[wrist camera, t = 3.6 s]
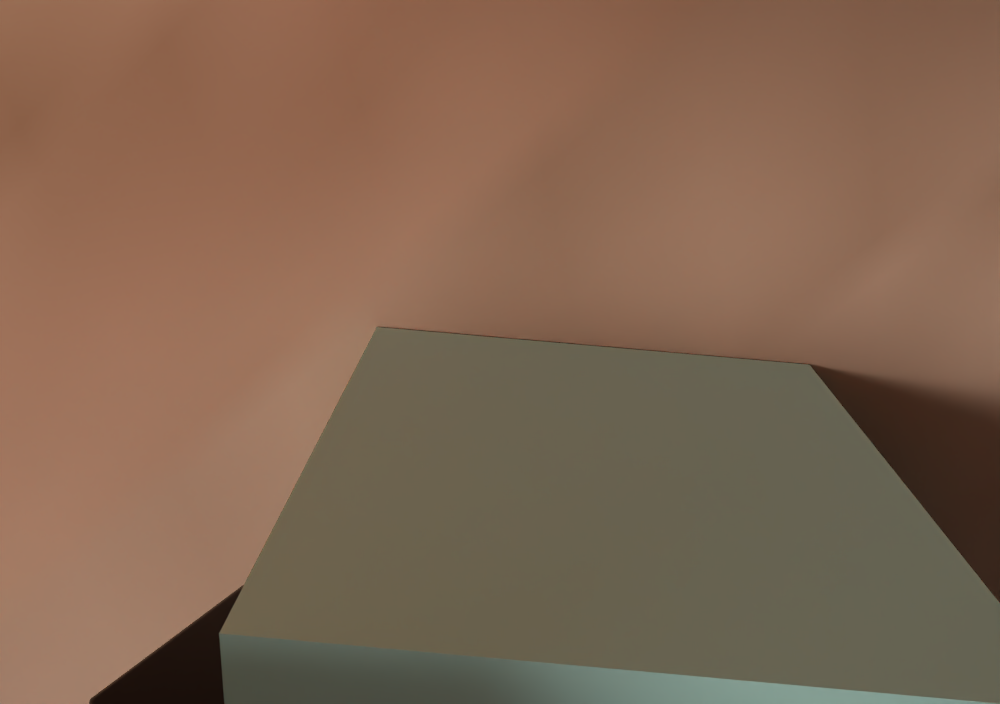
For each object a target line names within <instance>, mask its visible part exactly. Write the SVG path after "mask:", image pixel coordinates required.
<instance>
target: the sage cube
mask: <svg viewBox="0 0 1000 704" xmlns="http://www.w3.org/2000/svg"><path fill="white" fill-rule="evenodd" d="M219 639H220V652H221V666H222V679H223V693H224V704H1000V603H999V602H998V600H997V599H996V598H995V597H994V595H993V594H992V593H991V592H990V590H989V589H988V588H987V587H986V585H985V584H984V583H983V582H982V580H981V579H980V578H979V577H978V575H977V574H976V573H975V572H974V570H973V569H972V568H971V567H970V565H969V564H968V563H967V561H966V560H965V559H964V558H963V556H962V555H961V554H960V553H959V551H958V550H957V549H956V548H955V546H954V545H953V544H952V543H951V541H950V540H949V539H948V538H947V536H946V535H945V534H944V533H943V531H942V530H941V529H940V528H939V526H938V525H937V524H936V523H935V521H934V520H933V519H932V518H931V516H930V515H929V514H928V513H927V511H926V510H925V509H924V508H923V506H922V505H921V504H920V503H919V501H918V500H917V499H916V498H915V496H914V495H913V494H912V493H911V491H910V490H909V489H908V488H907V486H906V485H905V484H904V483H903V481H902V480H901V479H900V478H899V476H898V475H897V474H896V472H895V471H894V470H893V469H892V467H891V466H890V465H889V464H888V462H887V461H886V460H885V459H884V457H883V456H882V455H881V454H880V452H879V451H878V450H877V449H876V447H875V446H874V445H873V444H872V442H871V441H870V440H869V439H868V437H867V436H866V435H865V434H864V432H863V431H862V430H861V429H860V427H859V426H858V425H857V424H856V422H855V421H854V420H853V419H852V417H851V416H850V415H849V414H848V412H847V411H846V410H845V409H844V407H843V406H842V405H841V404H840V402H839V401H838V400H837V399H836V397H835V396H834V395H833V394H832V392H831V391H830V390H829V389H828V387H827V386H826V385H825V384H824V382H823V381H822V380H821V378H820V377H819V376H818V375H817V373H816V372H815V371H814V370H813V368H812V367H811V366H810V365H808V364H797V363H785V362H774V361H762V360H751V359H739V358H728V357H716V356H705V355H693V354H682V353H670V352H659V351H647V350H636V349H624V348H613V347H601V346H590V345H578V344H567V343H555V342H544V341H532V340H521V339H509V338H498V337H486V336H475V335H463V334H452V333H440V332H429V331H417V330H406V329H394V328H383V327H377V328H376V330H375V332H374V334H373V336H372V338H371V340H370V341H369V343H368V345H367V347H366V349H365V351H364V353H363V355H362V357H361V359H360V361H359V363H358V365H357V367H356V369H355V371H354V373H353V374H352V376H351V378H350V380H349V382H348V384H347V386H346V388H345V390H344V392H343V394H342V396H341V398H340V400H339V402H338V404H337V406H336V407H335V409H334V411H333V413H332V415H331V417H330V419H329V421H328V423H327V425H326V427H325V429H324V431H323V433H322V435H321V437H320V439H319V440H318V442H317V444H316V446H315V448H314V450H313V452H312V454H311V456H310V458H309V460H308V462H307V464H306V466H305V468H304V470H303V472H302V473H301V475H300V477H299V479H298V481H297V483H296V485H295V487H294V489H293V491H292V493H291V495H290V497H289V499H288V501H287V503H286V505H285V506H284V508H283V510H282V512H281V514H280V516H279V518H278V520H277V522H276V524H275V526H274V528H273V530H272V532H271V534H270V536H269V538H268V539H267V541H266V543H265V545H264V547H263V549H262V551H261V553H260V555H259V557H258V559H257V561H256V563H255V565H254V567H253V569H252V571H251V572H250V574H249V576H248V578H247V580H246V582H245V584H244V586H243V588H242V590H241V592H240V594H239V596H238V598H237V600H236V602H235V604H234V605H233V607H232V609H231V611H230V613H229V615H228V617H227V619H226V621H225V623H224V625H223V627H222V629H221V631H220V633H219Z"/></svg>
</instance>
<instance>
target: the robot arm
mask: <svg viewBox="0 0 1000 704" xmlns="http://www.w3.org/2000/svg"><path fill="white" fill-rule="evenodd" d="M243 586H244V585H243ZM243 586H241V587H240V588H239V589H237V590H236V591H235V592H233V593H232V594H231V595H229V596H228V597H227V598H225V599H224V600H223V601H221V602H220V603H219V604H217V605H216V606H215V607H213V608H212V609H211V610H209V611H208V612H207V613H205V614H204V615H203V616H201V617H200V618H199V619H197V620H196V621H194V622H193V623H192V624H190V625H189V626H188V627H186V628H185V629H184V630H182V631H181V632H180V633H178V634H177V635H176V636H174V637H173V638H172V639H170V640H169V641H168V642H166V643H165V644H164V645H162V646H161V647H160V648H158V649H157V650H156V651H154V652H153V653H151V654H150V655H149V656H147V657H146V658H145V659H143V660H142V661H141V662H139V663H138V664H137V665H135V666H134V667H133V668H131V669H130V670H129V671H127V672H126V673H125V674H123V675H122V676H121V677H119V678H118V679H117V680H115V681H114V682H113V683H111V684H110V685H109V686H107V687H106V688H104V689H103V690H102V691H100V692H99V693H98V694H96V695H95V696H94V697H92V698H91V699H90V702H89V704H224V693H223V679H222V666H221V652H220V639H219V633H220V631H221V629H222V627H223V625H224V623H225V621H226V619H227V617H228V615H229V613H230V611H231V609H232V607H233V605H234V604H235V602H236V600H237V598H238V596H239V594H240V592H241V590H242V588H243Z"/></svg>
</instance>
